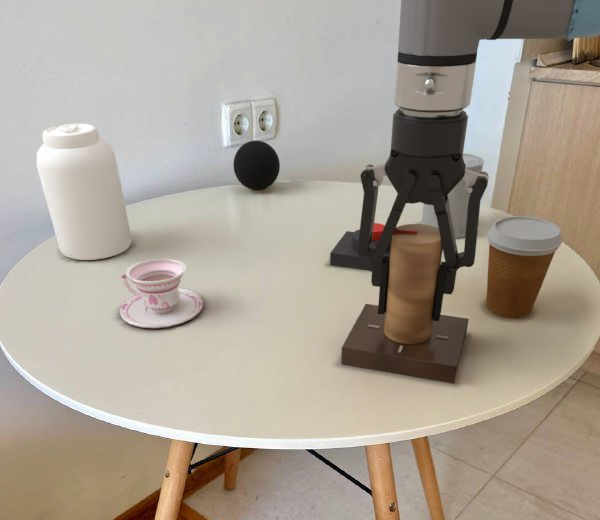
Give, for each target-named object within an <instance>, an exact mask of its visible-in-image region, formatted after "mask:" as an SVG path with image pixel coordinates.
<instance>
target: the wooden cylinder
mask: <svg viewBox="0 0 600 520" xmlns="http://www.w3.org/2000/svg"><path fill="white" fill-rule="evenodd" d="M442 257H443V247H442V242H441V237H440V232H439V228H437V227H434V226H430V225H425V224H421V223H407V224H402V225H397V226H396V228H395V230H394V233H393V235H392V238H391V244H390V257H389V270H388V283H387V296H386V309H385V322H384V333H385V335H386V336H387V337H388V338H389V339H391V340H393V341H395V342H398V343H403V344H417V343H422V342H424V341H426V340H428V339H429V338H430V337H431V333H432V326H433V314H434V307H435V299H436V292H437V284H438V277H439V270H440V266H441V262H442Z"/></svg>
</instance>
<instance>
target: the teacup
mask: <svg viewBox="0 0 600 520" xmlns="http://www.w3.org/2000/svg"><path fill="white" fill-rule="evenodd" d="M186 271H187V265H186V264H185V263H184V262H182V261H181V260H177V259H172V258H152V259H151V258H150V259H147V260H142V261H137V262H136V263H134V264H132V265H130V266H129V267H128V268H126V270H125V273H124V274H123V275H121V276H120V277H121V279H123V285H124V287H126V289H127V290H128V291H129V292H130V293H131V294H132V296H131V297H129V298H128V299H126V300H125V301H123V303H122V304H121V306H120V309H119V315H120V317H121V318H122V320H123V321H124V322H126V323H127V324H129V325H130V326H135V327H138V328H142V329H143V328H144V329H145V328H146V329H160V328H161V329H162V328H170V327H173V326H177V325H182V324H184V323H185V322H188V321H190V320H193V318H195V317H196V316H198V315H199V314H200V313H201V311H202V309H203V308H204V304H203V303H204V301H203V298H202V297H201V296H200V295H199V294H198V293H196V292H194V291H193V290H189V289H187V288H182V287H179V286H180V283H181V279H182V278H183V276H184V274H185V272H186ZM128 280H130V281H131V282H132V284H135V286H136V288H137V290H139V291H140V292H137V291H136V290H135V289H134V288H132V286H131V285H130V284H129V281H128Z"/></svg>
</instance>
